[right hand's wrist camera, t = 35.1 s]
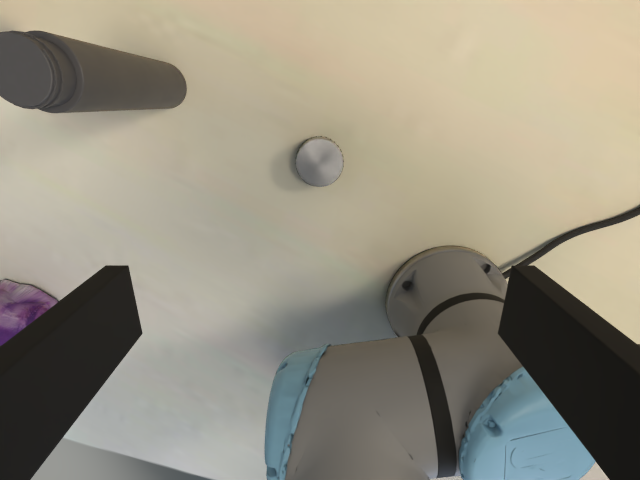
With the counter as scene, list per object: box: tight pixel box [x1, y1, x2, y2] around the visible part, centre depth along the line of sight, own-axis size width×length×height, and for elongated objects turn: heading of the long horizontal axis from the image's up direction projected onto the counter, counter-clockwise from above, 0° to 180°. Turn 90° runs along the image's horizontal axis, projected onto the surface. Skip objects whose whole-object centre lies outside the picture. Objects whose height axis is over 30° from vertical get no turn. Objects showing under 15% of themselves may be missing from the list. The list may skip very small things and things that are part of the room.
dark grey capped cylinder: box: [0, 31, 186, 113], centre depth 29 cm, size 4×4×20 cm
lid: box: [295, 136, 344, 187], centre depth 40 cm, size 5×5×2 cm
